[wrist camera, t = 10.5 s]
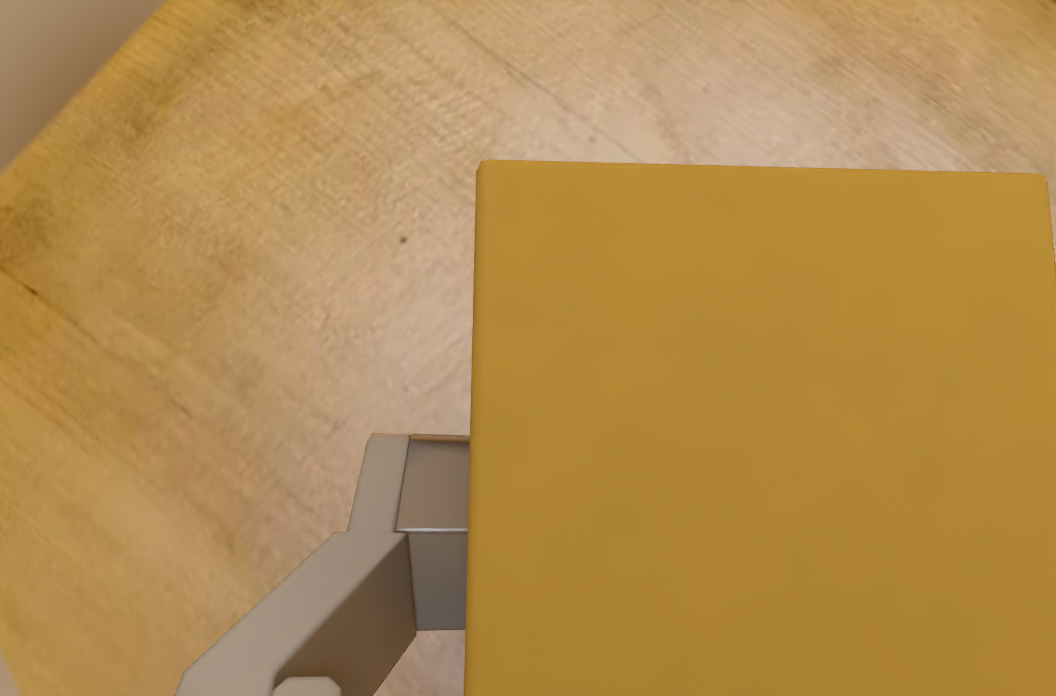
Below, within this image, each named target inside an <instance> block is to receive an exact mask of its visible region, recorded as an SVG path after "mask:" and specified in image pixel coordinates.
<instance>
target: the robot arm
mask: <svg viewBox="0 0 1056 696" xmlns="http://www.w3.org/2000/svg"><path fill="white" fill-rule="evenodd" d="M469 461H470V436H463V435H436V434H412V435H409V434H386V433H372V434H371V436H370V437H369V439H368V441H367V444H366V448H365V453H364V457H363V462H362V466H361V471H360V475H359V480H358V484H357V488H356V493H355V497H354V502H353V506H352V511H351V515H350V520H349V524H348V529H347V532H334V533H333V534H332V535H331V536H330V537H329V538H328V539H327V540H326V541H324V542H323V543H322V544H321V545H320V546H319V547H318V548H317V549H316V550H315V551H314V552H313V553H312V554H310V555H309V556H308V557H307V558H306V559H305V560H304V561H303V562H302V563H301V564H300V565H299V566H297V567H296V568H295V569H294V570H293V571H292V572H291V573H290V574H289V575H288V576H287V577H286V578H284V579H283V580H282V581H281V582H280V583H279V584H278V585H277V586H276V587H275V588H274V589H273V590H272V591H270V592H269V593H268V594H267V595H266V596H265V597H264V598H263V599H262V600H261V601H260V602H259V603H257V604H256V605H255V606H254V607H253V608H252V609H251V610H250V611H249V612H248V613H247V614H246V615H245V616H243V617H242V618H241V619H240V620H239V621H238V622H237V623H236V624H235V625H234V626H233V627H232V628H230V629H229V630H228V631H227V632H226V633H225V634H224V635H223V636H222V637H221V638H220V639H219V640H217V641H216V642H215V643H214V644H213V645H212V646H211V647H210V648H209V649H208V650H207V651H206V652H205V653H203V654H202V655H201V656H200V657H199V658H198V659H197V660H196V661H195V662H194V663H193V664H192V665H190V666H189V667H188V668H187V669H186V670H185V671H184V672H183V674H182V676H181V679H180V682H179V684H178V687H177V690H176V692H175V695H174V696H373V695H374V693H375V692H376V691H377V689H378V688H379V686H380V685H381V684H382V682H383V681H384V679H385V678H386V677H387V675H388V674H389V672H390V671H391V670H392V668H393V667H394V666H395V664H396V663H397V661H398V660H399V659H400V657H401V656H402V654H403V653H404V652H405V650H406V649H407V648H408V646H409V645H410V643H411V642H412V641H413V639H414V638H415V636H416V631H429V630H465V628H466V587H467V545H468V503H469Z"/></svg>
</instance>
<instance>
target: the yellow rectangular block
mask: <svg viewBox="0 0 1056 696" xmlns="http://www.w3.org/2000/svg"><path fill="white" fill-rule="evenodd" d="M464 696H1056V265H1055V255H1054V244H1053V234H1052V223H1051V213H1050V202H1049V192H1048V182H1047V180H1046V178H1045V176H1043V175H1041V174H1031V173H992V172H953V171H914V170H874V169H835V168H796V167H757V166H717V165H678V164H639V163H600V162H560V161H521V160H486V161H482V162H481V163H480V164H479V167H478V169H477V171H476V211H475V253H474V294H473V336H472V378H471V420H470V461H469V503H468V545H467V587H466V628H465V670H464Z"/></svg>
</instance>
